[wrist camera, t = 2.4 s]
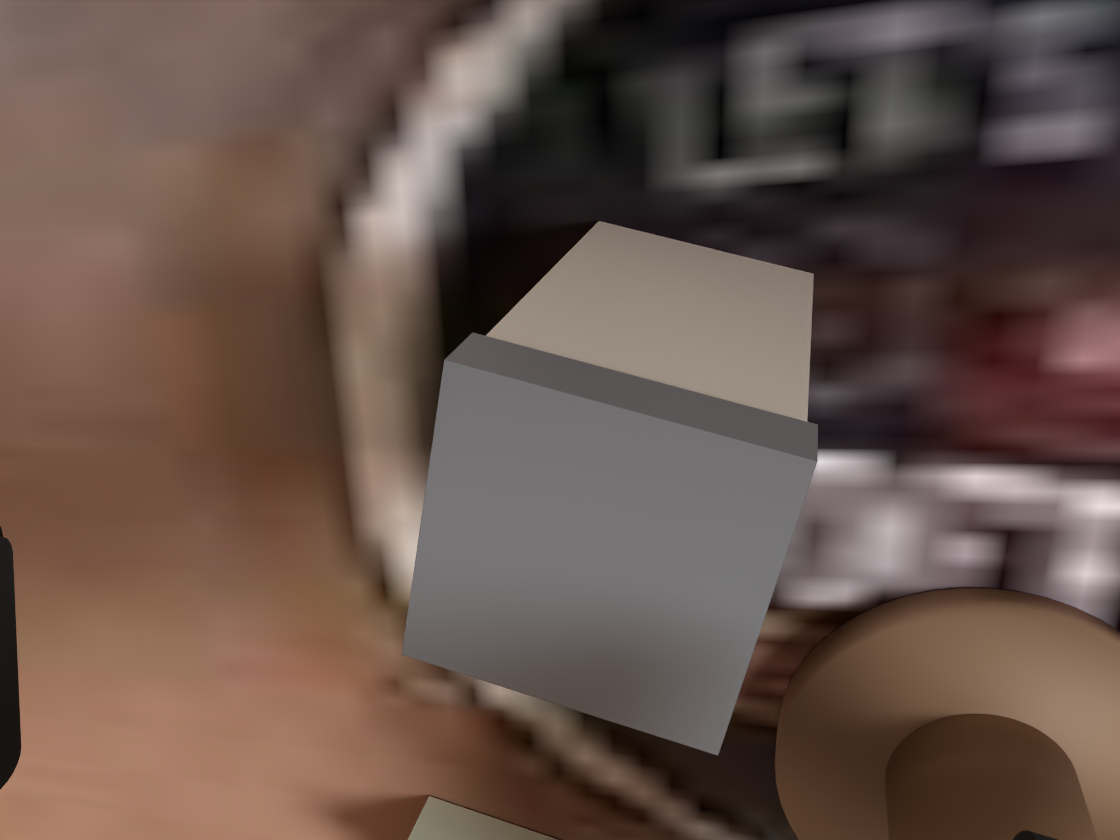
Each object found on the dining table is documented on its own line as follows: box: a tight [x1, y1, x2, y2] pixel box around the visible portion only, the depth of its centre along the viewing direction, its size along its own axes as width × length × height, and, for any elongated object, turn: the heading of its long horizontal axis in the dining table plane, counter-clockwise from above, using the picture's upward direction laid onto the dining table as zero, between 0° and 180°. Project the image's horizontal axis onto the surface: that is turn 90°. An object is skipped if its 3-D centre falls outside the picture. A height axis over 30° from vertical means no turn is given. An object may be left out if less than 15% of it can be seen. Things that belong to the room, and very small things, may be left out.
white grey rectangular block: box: [402, 221, 818, 755], centre depth 15 cm, size 4×4×8 cm
